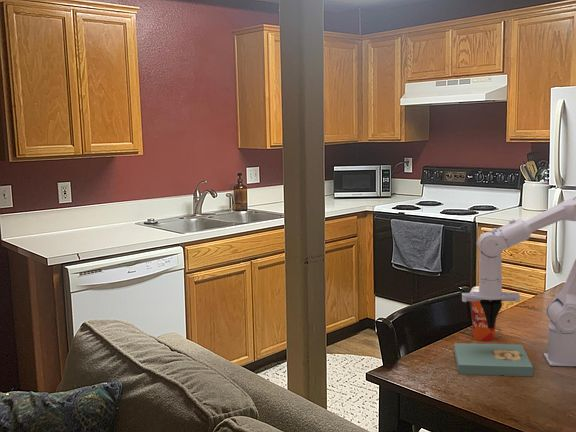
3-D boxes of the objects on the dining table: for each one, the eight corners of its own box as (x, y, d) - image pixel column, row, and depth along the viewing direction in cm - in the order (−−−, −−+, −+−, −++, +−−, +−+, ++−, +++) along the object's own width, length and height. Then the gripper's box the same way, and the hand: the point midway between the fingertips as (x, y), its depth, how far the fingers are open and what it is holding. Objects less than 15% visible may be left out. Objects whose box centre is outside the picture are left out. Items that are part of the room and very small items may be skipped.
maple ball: (514, 352, 164) (505, 349, 163) (517, 361, 162) (508, 358, 161) (507, 359, 166) (498, 356, 165) (510, 368, 163) (501, 365, 163)
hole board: (521, 353, 170) (521, 344, 170) (532, 376, 155) (532, 367, 154) (454, 351, 174) (454, 343, 173) (458, 374, 158) (458, 364, 158)
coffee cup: (468, 341, 181) (468, 291, 179) (471, 332, 189) (470, 284, 187) (498, 343, 178) (498, 293, 176) (499, 334, 186) (500, 286, 184)
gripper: (516, 273, 166) (516, 322, 168) (460, 274, 168) (461, 322, 170) (521, 280, 159) (521, 331, 161) (463, 280, 161) (463, 330, 163)
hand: (490, 327), depth 165 cm, fingers closed
